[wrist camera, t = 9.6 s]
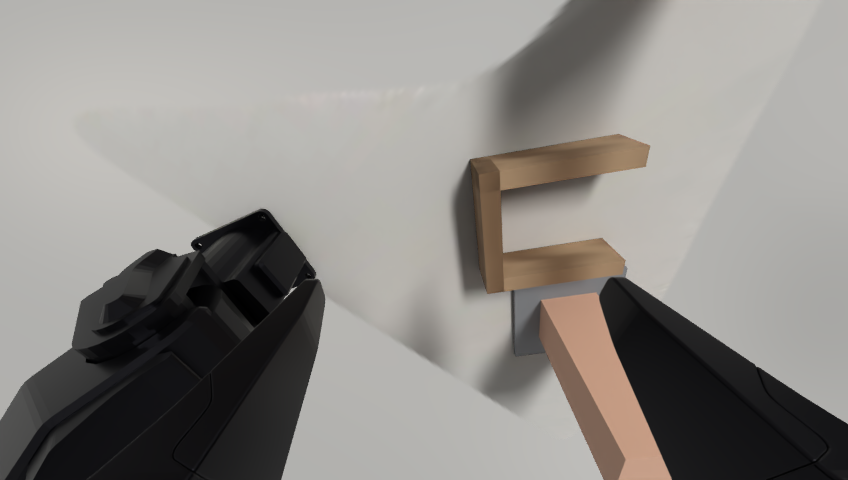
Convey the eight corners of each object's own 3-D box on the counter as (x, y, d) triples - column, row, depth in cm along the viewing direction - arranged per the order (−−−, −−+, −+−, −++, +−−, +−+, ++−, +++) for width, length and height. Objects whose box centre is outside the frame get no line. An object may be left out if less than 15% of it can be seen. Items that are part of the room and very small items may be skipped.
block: (539, 337, 28) (611, 497, 18) (541, 300, 26) (625, 459, 16) (589, 330, 28) (692, 488, 18) (596, 292, 26) (719, 449, 15)
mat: (514, 353, 30) (515, 356, 30) (513, 281, 25) (514, 284, 25) (608, 340, 29) (610, 343, 29) (624, 265, 25) (627, 268, 24)
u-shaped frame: (479, 269, 25) (487, 293, 22) (470, 159, 20) (478, 174, 17) (600, 251, 24) (622, 274, 21) (618, 134, 19) (650, 145, 17)
